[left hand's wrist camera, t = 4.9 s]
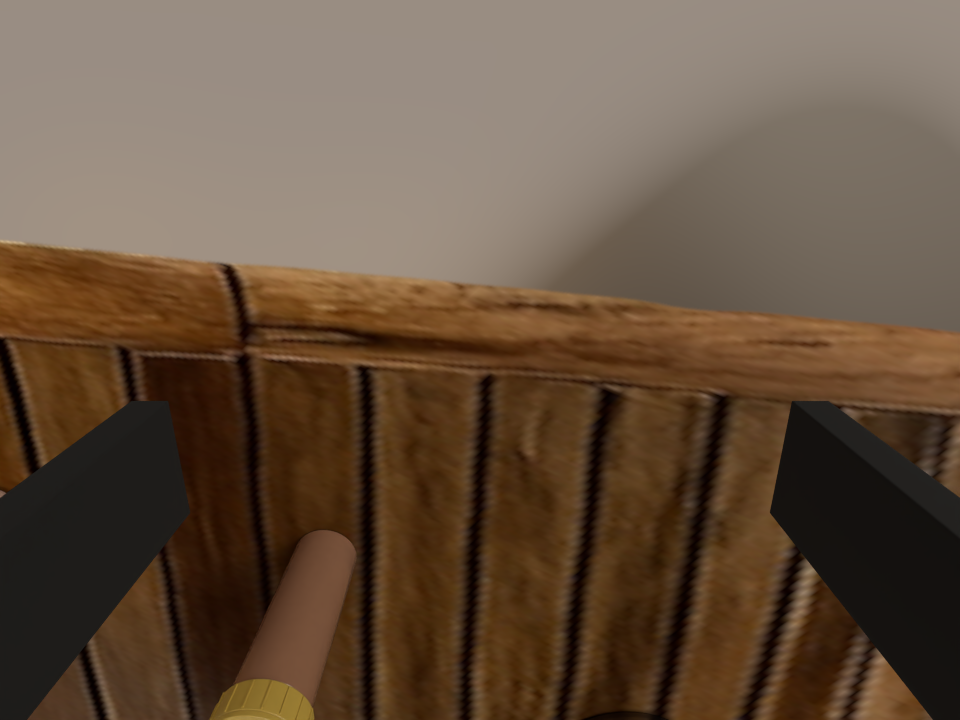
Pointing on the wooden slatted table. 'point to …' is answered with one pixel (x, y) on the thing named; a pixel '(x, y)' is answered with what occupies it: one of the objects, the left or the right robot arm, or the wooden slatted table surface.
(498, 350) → the wooden slatted table surface
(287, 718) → the lid
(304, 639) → the jar
